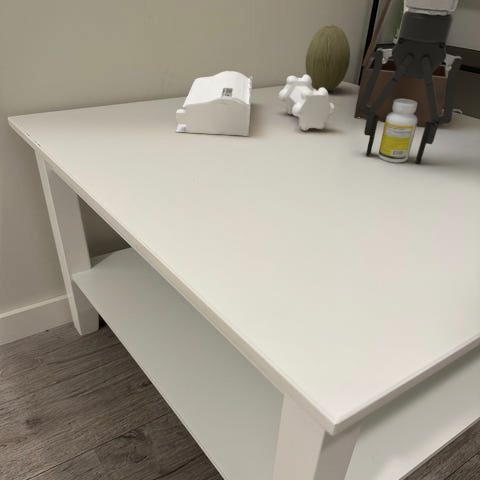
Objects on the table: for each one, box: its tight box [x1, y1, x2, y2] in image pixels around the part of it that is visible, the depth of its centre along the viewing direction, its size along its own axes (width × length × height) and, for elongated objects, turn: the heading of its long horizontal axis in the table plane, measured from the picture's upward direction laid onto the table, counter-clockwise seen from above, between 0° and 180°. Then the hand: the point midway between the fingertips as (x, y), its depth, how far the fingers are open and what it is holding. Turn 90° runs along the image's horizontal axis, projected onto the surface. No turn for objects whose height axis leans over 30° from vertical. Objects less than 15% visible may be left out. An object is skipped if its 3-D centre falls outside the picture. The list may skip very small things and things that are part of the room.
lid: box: [361, 0, 394, 68], centre depth 102 cm, size 19×15×9 cm
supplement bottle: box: [378, 99, 417, 164], centre depth 85 cm, size 5×5×10 cm
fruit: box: [305, 24, 351, 92], centre depth 123 cm, size 11×11×15 cm
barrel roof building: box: [175, 70, 253, 137], centre depth 102 cm, size 25×15×7 cm, turn 178°
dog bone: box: [278, 73, 335, 132], centre depth 101 cm, size 15×9×8 cm, turn 10°
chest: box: [353, 56, 449, 128], centre depth 109 cm, size 18×15×10 cm
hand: (393, 156), depth 88 cm, fingers open, 8 cm apart
